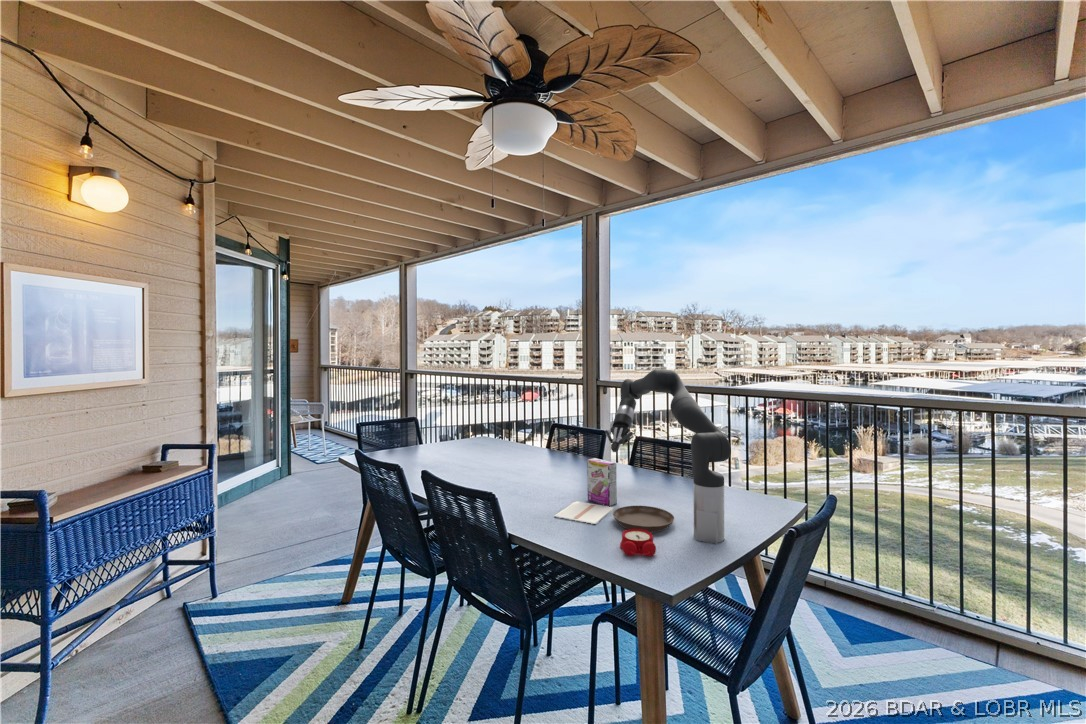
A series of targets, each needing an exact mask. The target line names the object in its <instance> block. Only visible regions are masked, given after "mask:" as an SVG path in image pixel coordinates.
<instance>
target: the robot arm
mask: <svg viewBox="0 0 1086 724" xmlns="http://www.w3.org/2000/svg"><path fill="white" fill-rule="evenodd" d="M651 392H655V393H662V394H669V395H671V396H672V399H671V402H670V407H669V408H670V411H671V414H672V415H673V417H674V418H675V420H676V421H677V423H678V424H679V425H681V426H682V427H683V428H685V429H687V430H688V431H691V432H693V433H694V434H693V435H692V437H691V440H690V441H691V442H690V453H691V455H690V456H691V472H692V478H693V479H692V481H693V485H692V486H693V488H692V489H693V491H692V493H693V496H692V497H693V500H692V501H693V536H694V538H695V540H696V541H699V542H704V543H710V544H715V545H716V544H719V543H721V542H723V541H725V477H724V475H723V474H722V473H720V472H717V471H714V470H711V469H710V468H709V463H721V462H725V461H727V460H729V458H730V457H731V455H732V449H731V448H732V447H731V444H730V441H729V439H728V438H727V436H726V434H724V432H723V431H722V430H720V429H719V427H717V426H716V425H715V423H714V422H713V421H712V420H711V419H710V418H709V417H708V416H707V415H706V413H705V412H704V411H703V409H702V408H701V407H700V405H699V404H698V402H697V401H696V400H695V399H694V398H693V397H692V395H691V394H690V392H689V391H688V389H687V388H686V387H685V384H684V383H683V381H682V379H681V377H680V376H679V374H678V373H677V371H675V370H672V369H663V368H655V369H653V370H651V371H649V372H648V373H647V374H646V375H644V376H643V377H641V378H639V379H635V380H632V379H630V378H627V379H624V380H623V381H622V382H621V385H620V400H619V401H620V402H619V405H618V408H617V409H616V413H615V415H614V419H613V421H612V426H611V427H610V429H609V430H606V429H605V430H604V432H605V433H604V434H606V437H607V439H608V441H609V442H610V444H611V447H610V448H611V449H610V450H611V451H612V453H617V452H619V449H620V446H621V445H625V444H627V443H628V442H629V441H630V440H632V439H633V438H634V433H633V432H632V431H631V430H630V429H631V426H632V423H633V420H634V415H635V410H636V405H637V400H640V399H641V398H642V397H643V395H647V394H649V393H651ZM611 435H613V437H612V436H611Z"/></svg>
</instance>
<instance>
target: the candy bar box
mask: <svg viewBox="0 0 1086 724" xmlns="http://www.w3.org/2000/svg"><path fill="white" fill-rule="evenodd" d="M586 464H587V466H586V467H587V469H586V470H587V471H586V473H587V501H589V500H590V502H593V501H594V502H593V503H596V502H597V504H599V503H600V504H599V505H603V504H604V505H603V506H606V505H607V506H610V507H612V506H615V505H617V503H618V500H617V499H618V497H617V494H618V492H617V462H615V461H611V460H605V459H600V458H598V457H597V458H596V457H593V458H589V459H587V461H586ZM614 504H615V505H614ZM611 505H612V506H611Z"/></svg>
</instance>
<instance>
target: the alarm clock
mask: <svg viewBox="0 0 1086 724" xmlns="http://www.w3.org/2000/svg"><path fill="white" fill-rule="evenodd" d="M619 546H620V549H621V550H622V551H623V553H624V555H626V556H628V557H633V556H636V555H638V556H644V557H648V558H649V557H653V556H654V555H655V554H656V552H657V548H656V544H655V543H654V535H653V534H652V532H648V531H646V530H642V529H626V530H625V529H623V531H622V534H621V541H620V544H619Z"/></svg>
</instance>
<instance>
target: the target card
mask: <svg viewBox="0 0 1086 724" xmlns="http://www.w3.org/2000/svg"><path fill="white" fill-rule="evenodd" d="M613 509H614V510H615V506H614V507H613V506H610V507H609V506H606V505H603V504H595V503H588V502H582V501H577V500H576V501H573V502H572V503H571V504H569V505H568V506H566V507H565V508H564V509H562V510H561V511H559V512H558V513H555V515H554V516H557V517H561V518H566V519H571V520H575V521H574V522H576V521H580V522H579V523H581V522H586V523H585V524H587V523H591V524H590V525H592V524H596V525H597V524H599V523H600V522H601V521H602V520H603V519H604V518H606V517H607V516H608V515H609V514H610V513H612V512H613V511H614V510H613ZM612 510H613V511H612ZM608 513H609V514H608ZM607 514H608V515H607ZM606 515H607V516H606ZM601 519H602V520H601ZM571 520H570V521H571ZM600 520H601V521H600ZM599 521H600V522H599Z"/></svg>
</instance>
